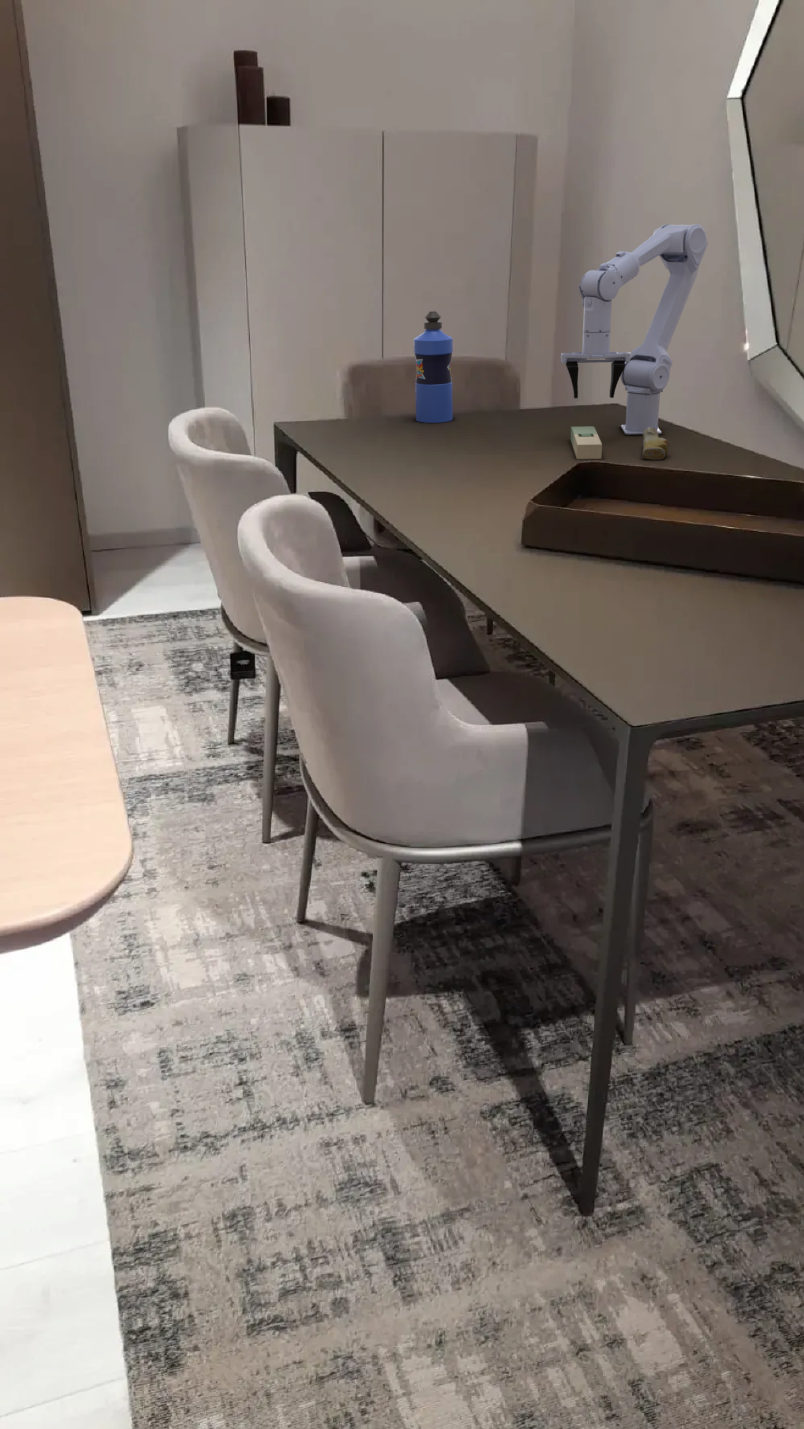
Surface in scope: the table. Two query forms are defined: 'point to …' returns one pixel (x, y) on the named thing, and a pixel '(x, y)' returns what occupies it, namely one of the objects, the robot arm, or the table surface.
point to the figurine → (654, 445)
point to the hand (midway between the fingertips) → (593, 397)
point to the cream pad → (587, 447)
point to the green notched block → (582, 432)
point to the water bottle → (433, 372)
